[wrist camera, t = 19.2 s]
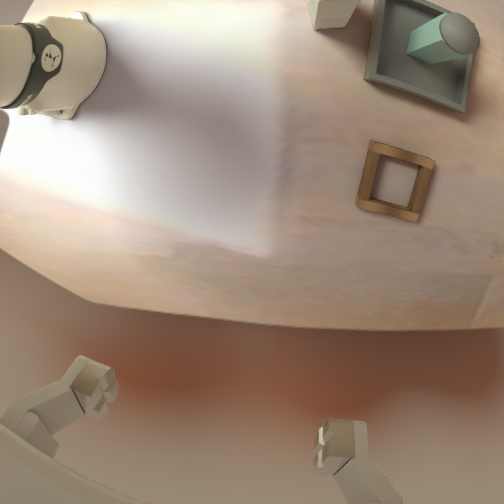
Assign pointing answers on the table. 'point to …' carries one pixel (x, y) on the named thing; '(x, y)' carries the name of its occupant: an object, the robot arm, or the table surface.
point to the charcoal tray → (408, 67)
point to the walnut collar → (418, 189)
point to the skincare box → (331, 12)
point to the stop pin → (444, 39)
